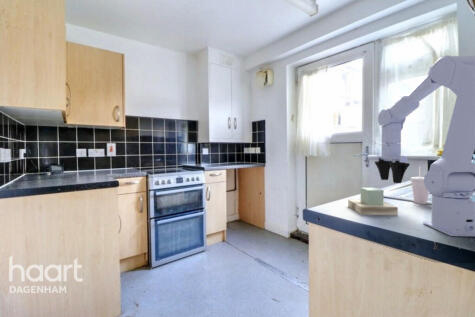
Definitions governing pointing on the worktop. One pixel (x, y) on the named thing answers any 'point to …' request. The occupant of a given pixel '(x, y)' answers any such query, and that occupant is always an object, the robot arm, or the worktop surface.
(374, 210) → the birch block
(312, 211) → the worktop surface
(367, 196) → the sage cube
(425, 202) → the smoothie
